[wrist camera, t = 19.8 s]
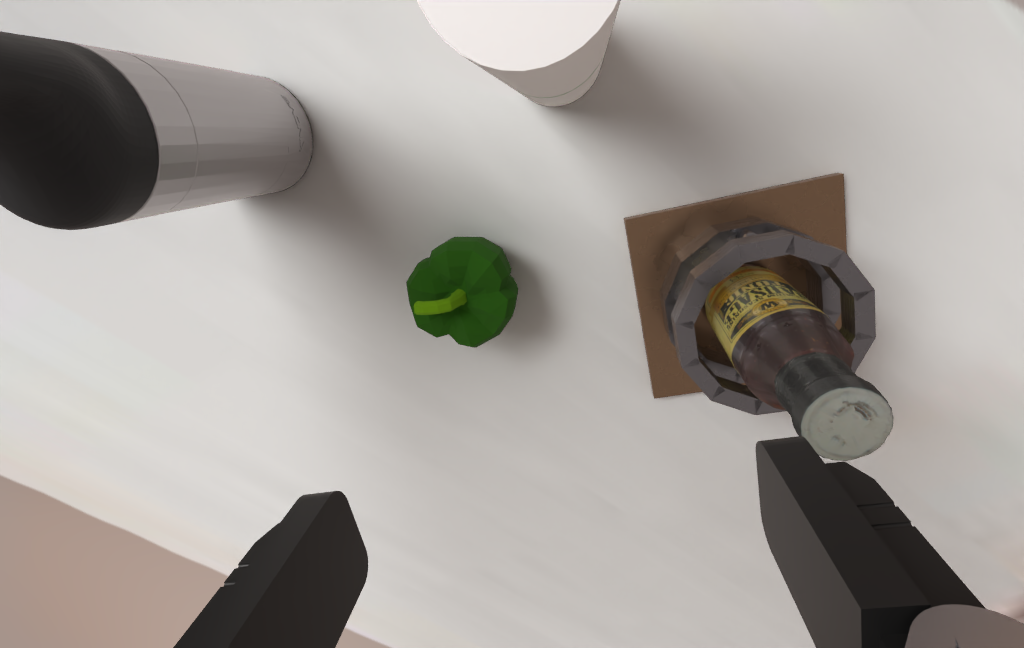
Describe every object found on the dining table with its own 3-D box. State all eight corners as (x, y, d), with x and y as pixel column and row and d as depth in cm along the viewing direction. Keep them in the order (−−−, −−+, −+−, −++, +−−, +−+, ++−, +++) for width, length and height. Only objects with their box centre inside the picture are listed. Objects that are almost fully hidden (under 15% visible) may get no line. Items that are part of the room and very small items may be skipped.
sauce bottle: (768, 248, 42) (922, 338, 23) (790, 318, 43) (950, 455, 25) (686, 279, 43) (767, 386, 25) (710, 346, 45) (803, 494, 26)
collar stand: (652, 393, 48) (668, 448, 40) (623, 218, 43) (633, 238, 35) (845, 364, 45) (906, 417, 37) (837, 172, 40) (905, 183, 32)
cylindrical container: (566, -23, 38) (543, -272, 15) (622, 64, 40) (681, -35, 16) (488, 45, 40) (359, -77, 17) (543, 126, 42) (495, 117, 18)
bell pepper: (537, 242, 45) (525, 271, 35) (509, 329, 48) (491, 377, 38) (442, 212, 45) (405, 232, 36) (420, 300, 48) (381, 341, 38)
